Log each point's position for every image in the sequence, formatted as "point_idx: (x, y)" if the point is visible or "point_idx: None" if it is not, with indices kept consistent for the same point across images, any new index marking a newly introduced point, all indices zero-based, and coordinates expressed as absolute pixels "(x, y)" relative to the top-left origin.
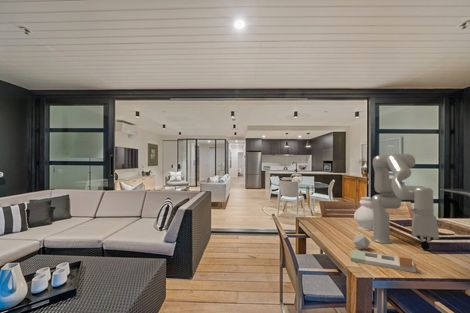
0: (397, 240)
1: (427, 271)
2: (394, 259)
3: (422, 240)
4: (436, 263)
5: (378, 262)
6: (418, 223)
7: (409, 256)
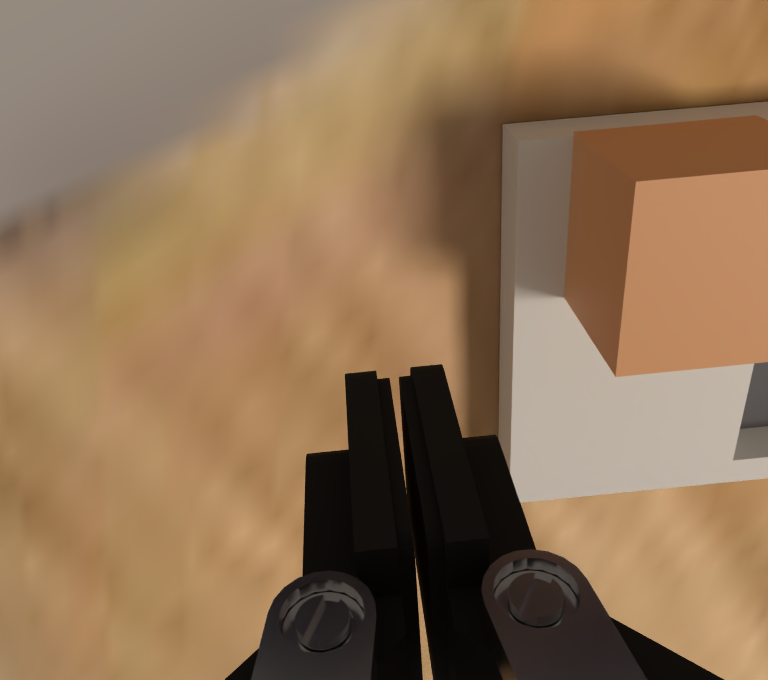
0: None
1: (336, 275)
2: (744, 381)
3: (530, 608)
4: (217, 591)
5: None
6: None
7: (646, 307)
